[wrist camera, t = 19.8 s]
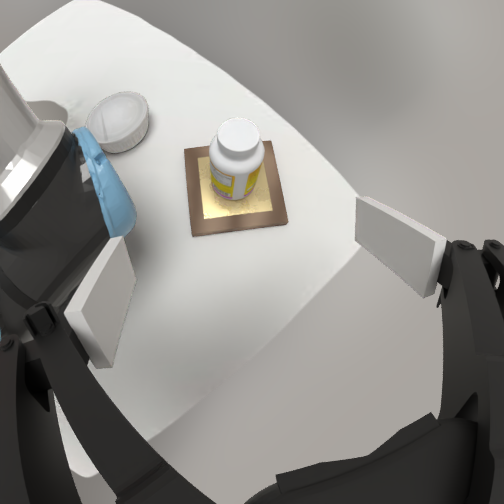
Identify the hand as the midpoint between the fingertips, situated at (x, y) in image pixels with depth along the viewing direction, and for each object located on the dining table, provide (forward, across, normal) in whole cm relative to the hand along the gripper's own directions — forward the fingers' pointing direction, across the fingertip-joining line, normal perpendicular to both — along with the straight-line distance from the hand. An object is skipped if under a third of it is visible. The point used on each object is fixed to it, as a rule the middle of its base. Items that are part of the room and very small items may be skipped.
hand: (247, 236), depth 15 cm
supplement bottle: (+28, +2, -2) cm, 28 cm away
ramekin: (+37, -15, +9) cm, 41 cm away
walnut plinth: (+29, +2, -4) cm, 29 cm away
